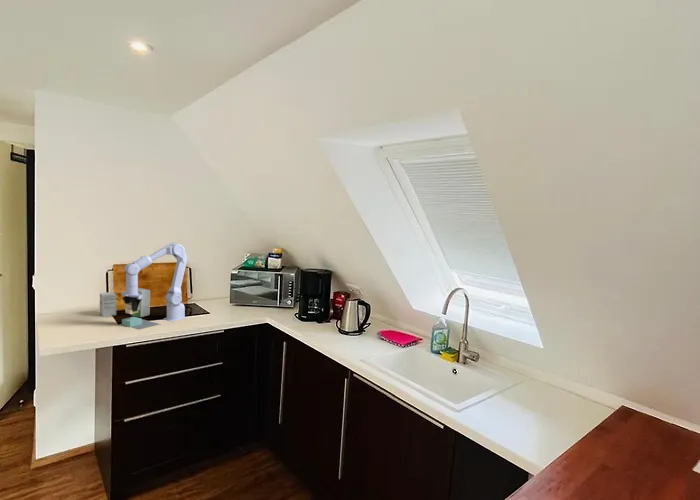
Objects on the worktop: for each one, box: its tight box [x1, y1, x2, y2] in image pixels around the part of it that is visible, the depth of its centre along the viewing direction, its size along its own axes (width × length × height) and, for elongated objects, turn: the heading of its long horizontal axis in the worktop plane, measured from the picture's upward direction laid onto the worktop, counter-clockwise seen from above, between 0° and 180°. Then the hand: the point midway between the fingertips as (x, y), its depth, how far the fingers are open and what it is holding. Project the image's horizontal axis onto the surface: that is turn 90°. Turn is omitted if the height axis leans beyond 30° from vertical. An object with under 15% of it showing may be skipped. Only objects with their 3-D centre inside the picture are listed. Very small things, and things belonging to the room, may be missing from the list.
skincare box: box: [130, 287, 151, 318], centre depth 249 cm, size 8×7×16 cm
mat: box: [120, 318, 161, 330], centre depth 231 cm, size 13×16×1 cm
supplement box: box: [99, 291, 117, 317], centre depth 248 cm, size 7×7×13 cm
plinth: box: [121, 316, 143, 328], centre depth 230 cm, size 7×7×3 cm
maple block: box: [124, 303, 138, 315], centre depth 229 cm, size 4×4×5 cm
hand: (132, 310), depth 229 cm, fingers closed on maple block, 4 cm apart
